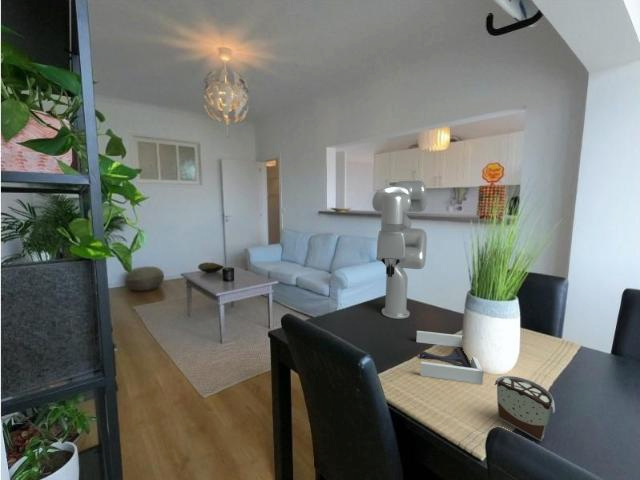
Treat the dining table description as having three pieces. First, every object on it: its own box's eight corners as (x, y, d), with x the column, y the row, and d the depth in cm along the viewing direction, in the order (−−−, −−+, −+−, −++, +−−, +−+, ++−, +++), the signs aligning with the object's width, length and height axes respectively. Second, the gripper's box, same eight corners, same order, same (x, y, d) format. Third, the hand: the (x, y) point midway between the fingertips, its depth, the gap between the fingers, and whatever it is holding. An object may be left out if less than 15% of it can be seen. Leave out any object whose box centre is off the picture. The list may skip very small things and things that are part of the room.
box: (416, 340, 116) (416, 330, 115) (465, 346, 111) (466, 336, 111) (420, 375, 93) (421, 363, 93) (482, 384, 89) (483, 371, 88)
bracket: (416, 348, 111) (416, 341, 110) (459, 352, 109) (460, 344, 108) (423, 371, 97) (423, 363, 96) (473, 375, 94) (473, 367, 94)
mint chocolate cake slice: (559, 433, 71) (564, 394, 69) (549, 446, 67) (554, 405, 66) (503, 404, 81) (506, 369, 79) (491, 413, 77) (495, 377, 76)
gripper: (412, 227, 113) (410, 274, 117) (371, 226, 117) (371, 271, 121) (413, 230, 106) (410, 280, 110) (369, 229, 110) (369, 277, 113)
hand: (390, 275), depth 115 cm, fingers closed
